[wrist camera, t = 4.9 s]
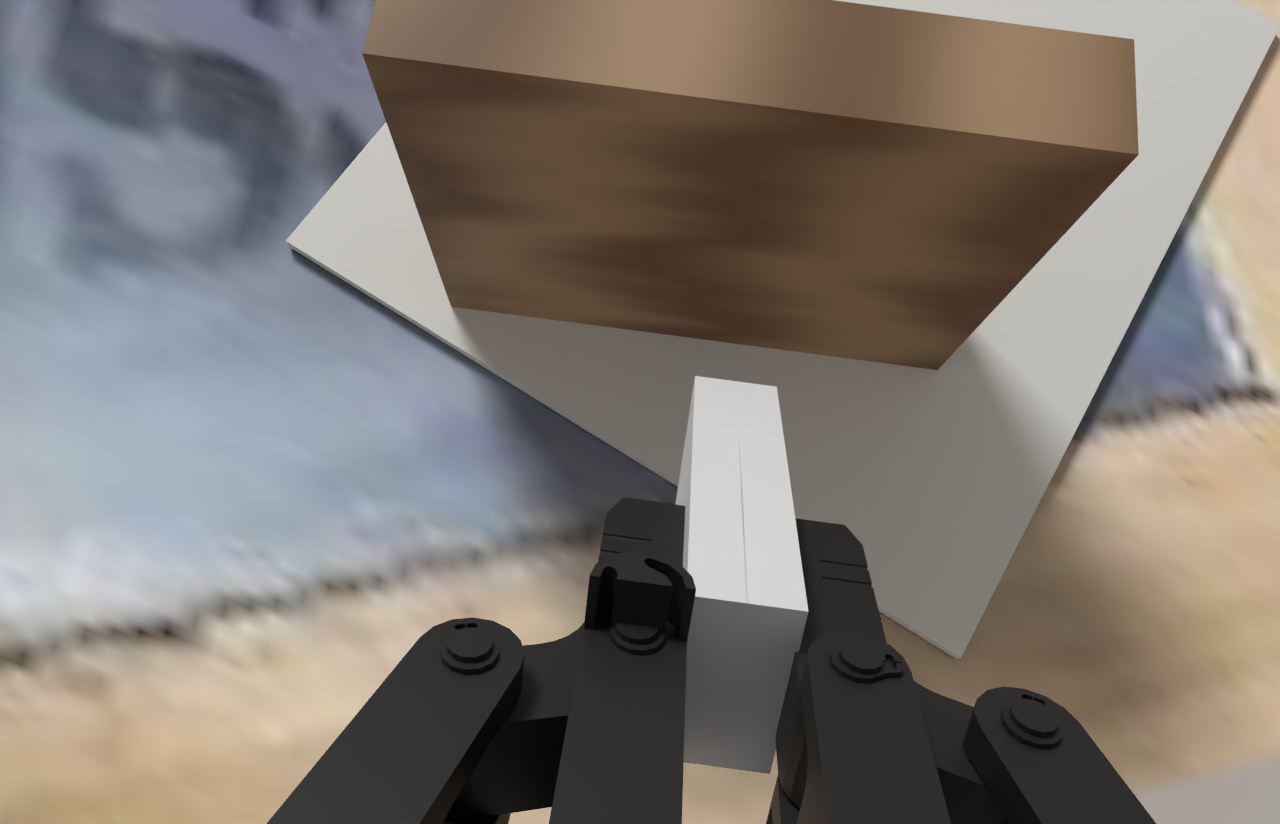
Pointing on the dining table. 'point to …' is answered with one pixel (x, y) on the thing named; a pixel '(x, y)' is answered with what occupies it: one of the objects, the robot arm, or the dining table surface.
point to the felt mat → (863, 390)
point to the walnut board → (747, 162)
